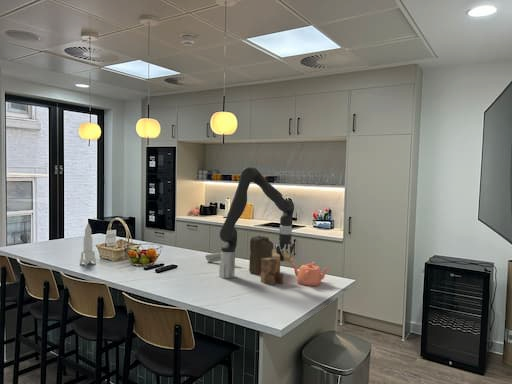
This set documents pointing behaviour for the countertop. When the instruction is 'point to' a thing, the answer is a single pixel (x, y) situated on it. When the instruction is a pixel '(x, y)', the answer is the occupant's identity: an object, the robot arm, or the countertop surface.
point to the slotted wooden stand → (271, 271)
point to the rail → (286, 256)
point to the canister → (259, 252)
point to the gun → (214, 257)
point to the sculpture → (88, 247)
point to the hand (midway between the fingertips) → (284, 260)
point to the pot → (309, 274)
